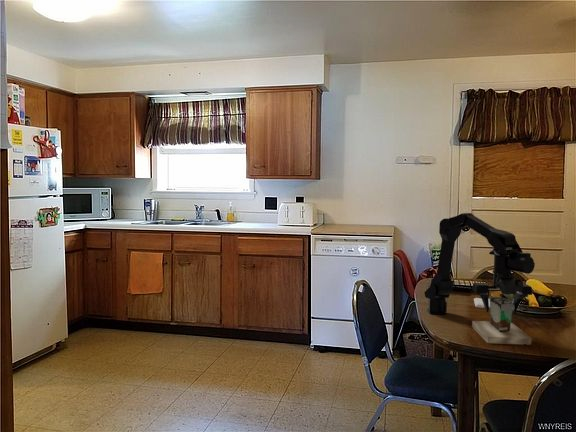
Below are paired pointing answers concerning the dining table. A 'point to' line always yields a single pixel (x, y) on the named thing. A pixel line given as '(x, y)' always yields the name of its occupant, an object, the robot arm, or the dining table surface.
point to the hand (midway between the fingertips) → (500, 312)
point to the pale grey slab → (501, 334)
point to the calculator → (480, 302)
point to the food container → (501, 313)
